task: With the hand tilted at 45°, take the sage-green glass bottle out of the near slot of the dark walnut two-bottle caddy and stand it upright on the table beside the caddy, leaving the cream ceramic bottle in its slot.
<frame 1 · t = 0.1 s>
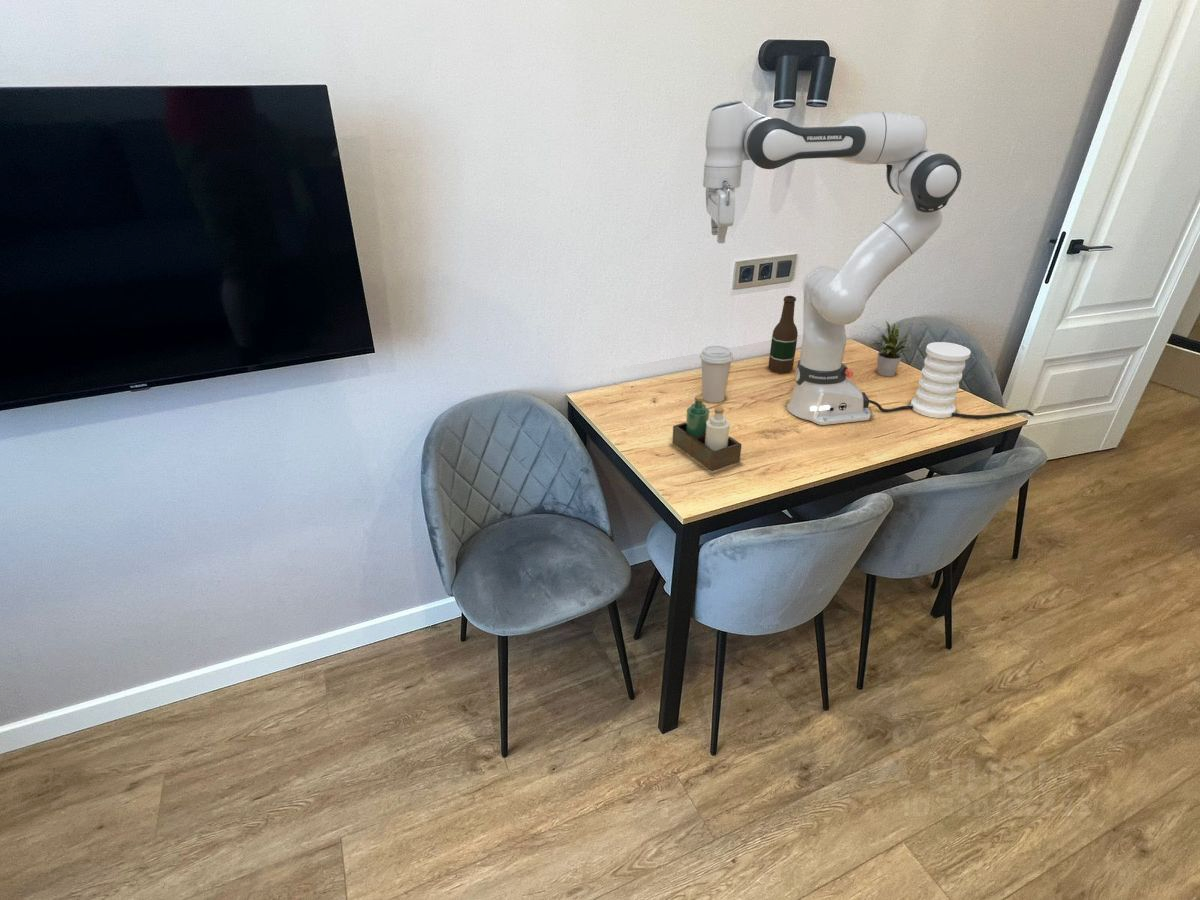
hand: (717, 238, 159), 48 cm above the table, tool pointing down, fingers open, 8 cm apart
beer bottle: (780, 369, 209), on the table
coffee cup: (713, 398, 191), on the table
decorative container: (932, 409, 183), on the table
caddy: (704, 454, 162), on the table
cream bottle: (714, 458, 159), point 1 cm above the table, touching caddy
green bottle: (695, 445, 165), point 1 cm above the table, touching caddy
house plant: (882, 372, 206), on the table
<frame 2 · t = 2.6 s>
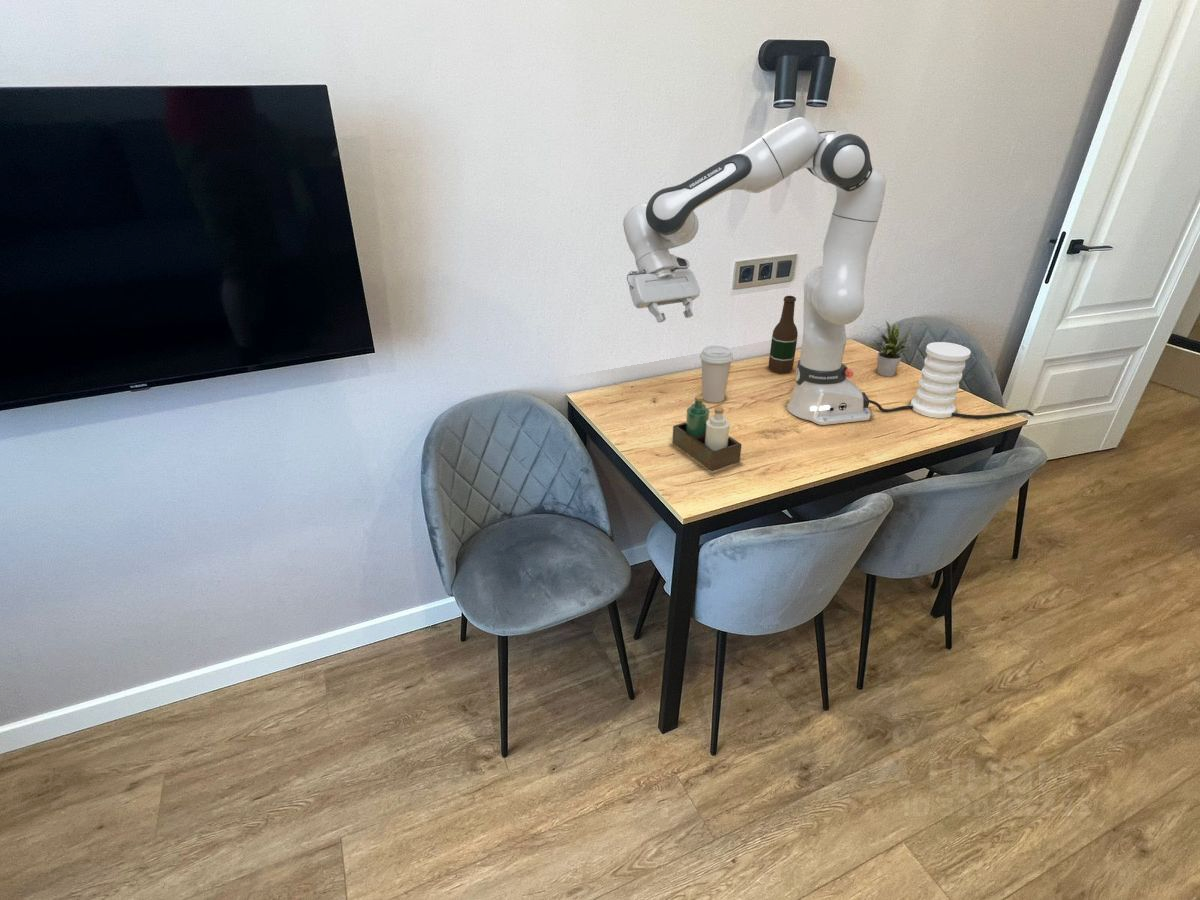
hand: (676, 319, 160), 31 cm above the table, tool tilted 40°, fingers open, 8 cm apart
nothing on the table moved.
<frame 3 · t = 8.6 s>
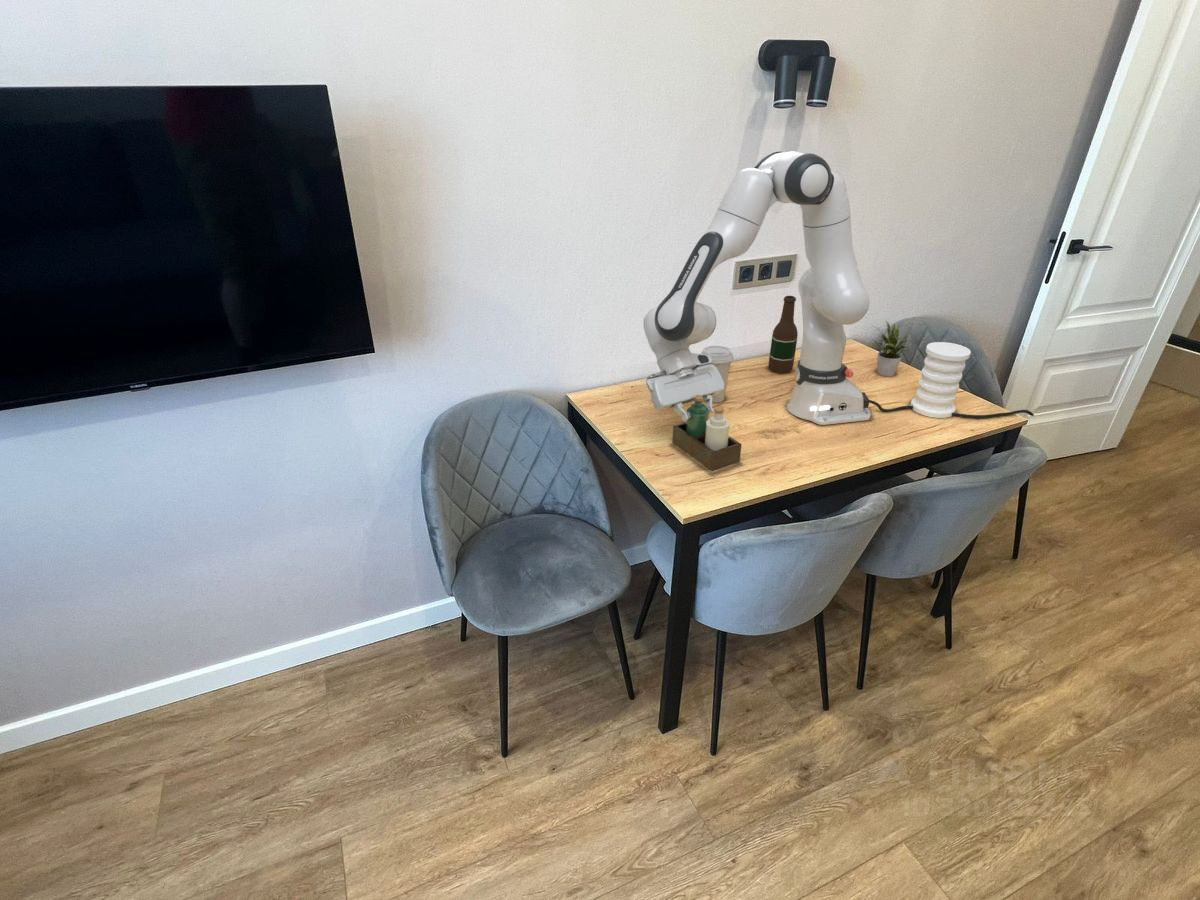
hand: (699, 417, 160), 9 cm above the table, tool tilted 45°, fingers closed on green bottle, 5 cm apart
green bottle: (695, 445, 165), point 1 cm above the table, touching caddy, gripper
everything else where it was.
when the fingers open (8 cm above the table, at t = 18.4 s): green bottle stays where it is, on the table.
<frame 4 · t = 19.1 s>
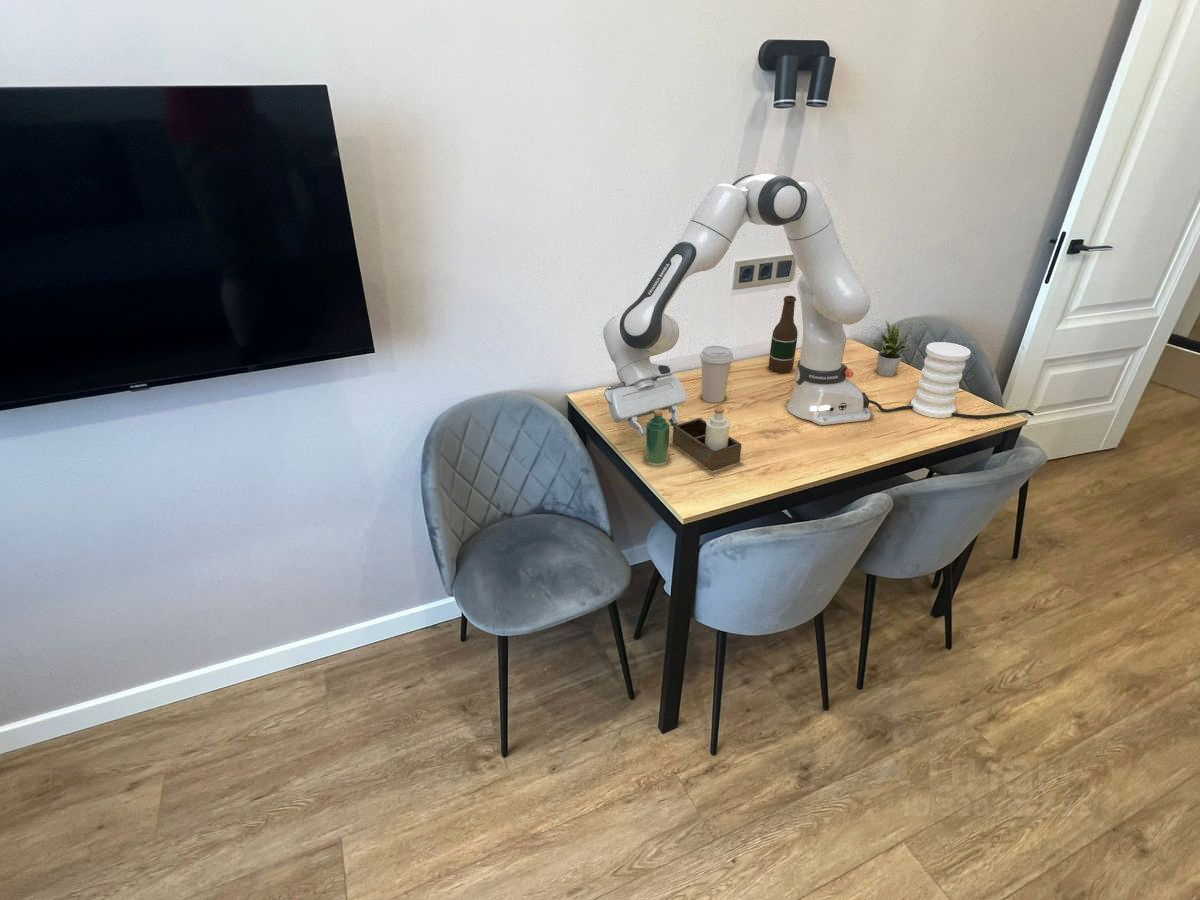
hand: (659, 429, 155), 9 cm above the table, tool tilted 45°, fingers open, 8 cm apart
green bottle: (656, 460, 160), on the table
everything else where it was.
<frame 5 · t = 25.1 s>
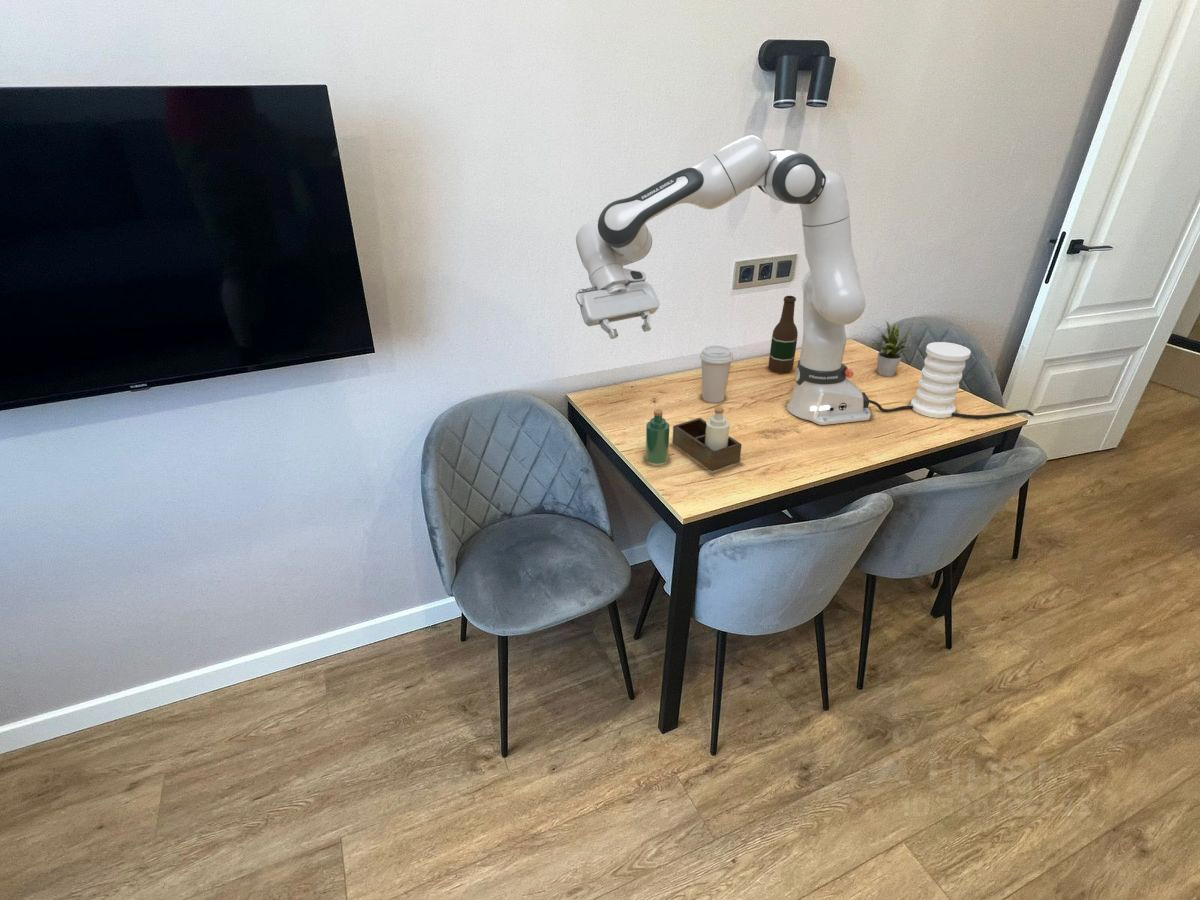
hand: (631, 333, 155), 29 cm above the table, tool tilted 45°, fingers open, 8 cm apart
nothing on the table moved.
at the end: green bottle 0.1 cm from the target spot, on the table; green bottle tilted 0°; cream bottle moved 0.0 cm from its start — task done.
